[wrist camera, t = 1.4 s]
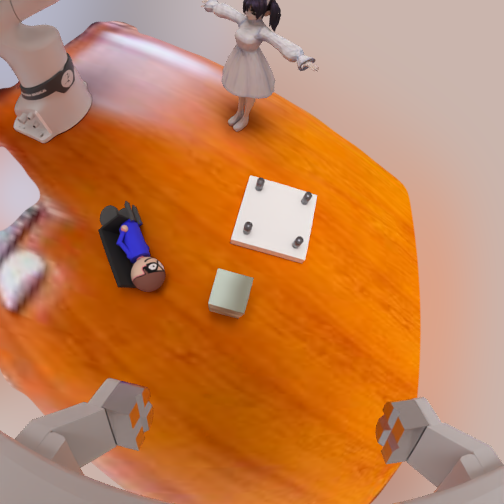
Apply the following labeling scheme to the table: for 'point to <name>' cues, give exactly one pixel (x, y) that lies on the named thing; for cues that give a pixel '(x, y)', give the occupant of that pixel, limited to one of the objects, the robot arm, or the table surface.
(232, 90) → the figurine
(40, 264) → the table surface
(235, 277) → the sage block
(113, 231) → the character figurine
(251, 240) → the display base
